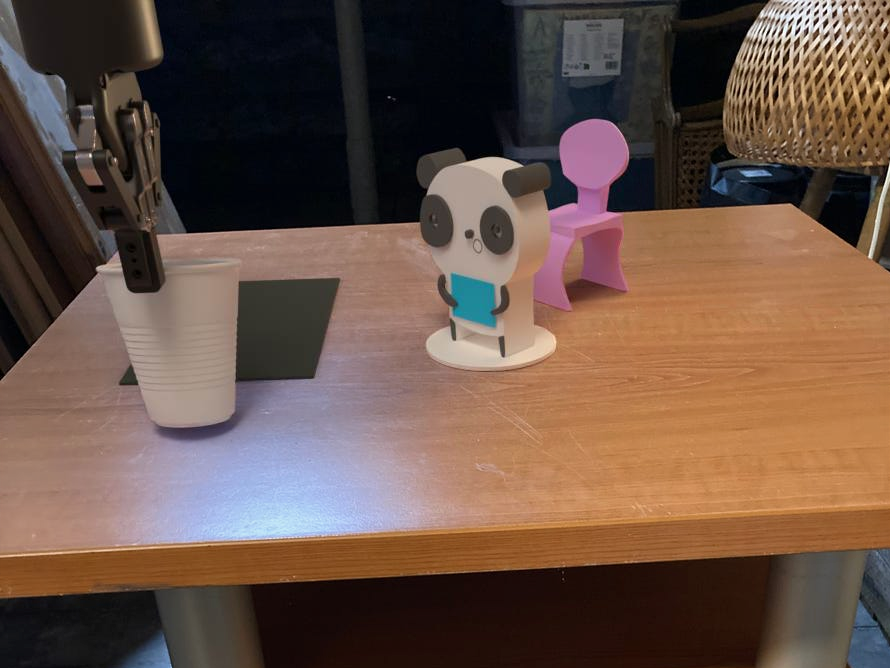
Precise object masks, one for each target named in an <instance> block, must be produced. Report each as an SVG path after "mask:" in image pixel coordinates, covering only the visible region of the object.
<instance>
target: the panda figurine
mask: <svg viewBox="0 0 890 668" xmlns="http://www.w3.org/2000/svg"><path fill="white" fill-rule="evenodd" d="M416 178H417V181H418V183H419V185H420V186H421V187H422V188H423V189H427V191H426V192H427V193H426V195H425V196H424V197H423V198H422V202H421V206H420V211H419V212H420V213H419V227H420V228H419V229H420V234H421V237H422V239H423V241H424V242H425V243H426V244H427V248H428V250H429V252H430V254H431V256H432V258H433V260H434V262H435V264H436V266H437V267H438V268H439V270H440V271H441V273H443V274H440V275H439V277H438V279H437V282H436V283H437V285H436V286H437V290H438V293H439V295H440V297H441V299H442V300H443V302H444V303H445V304H446V305H448V313H449V325H448V326H445V327H443V328H441V329H438V330H436V331H434V332H433V333H432V334H431V335H430V336H429V337H428V338H427V339H426V342H425V351H426V354H427V356H429V357H430V358H431V359H432V360H433V361H435V362H437V363H439V364H441V365H444V366H447V367H450V368H453V369H458V370H466V371H476V372H499V371H510V370H516V369H517V370H518V369H521V368H526V367H530V366H533V365H536V364H538V363H540V362H543V361H545V360H547V359H548V358H549V357H551V356H552V355H553V354H554V353H555V352H556V349H557V338H556V337H555V335H554V333H552V332H551V331H550V330H548V329H546V328H545V327H543V326H539V325H537V324H535V319H534V318H535V316H534V315H535V314H534V309H535V308H534V307H535V306H534V302H535V300H534V274H535V273H536V272H538V271H539V269H540V268H541V267H542V265H543V263H544V261H545V259H546V257H547V253H548V250H549V245H550V220H549V213H548V211H549V209H548V204H547V199H546V196H545V193H544V190H548V189H550V186H551V185H552V175H551V170H550V168H549V166H548V165H547V164H546V163H545V162H542V161H539V162H534V163H530V164H527V165H522V164H521V163H519V162H516V161H514V160H511V159H507V158H504V157H498V156H487V157H481V158H477V159H473V160H469V161H467V159H466V155H465V154H464V153H463V151H462V150H461V149H460V148H459V147H454V148H450V149H445V150H441V151H437V152H433V153H429V154H424V155H423V156H420V158H419V159H418V161H417V165H416Z"/></svg>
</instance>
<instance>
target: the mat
mask: <svg viewBox="0 0 890 668" xmlns="http://www.w3.org/2000/svg"><path fill="white" fill-rule="evenodd" d="M340 280H341V277H327V278H326V277H323V278H321V277H319V278H296V279H295V278H294V279H293V278H291V279H288V278H287V279H263V280H262V279H261V280H239V286H238V317H237V325H236V326H237V332H236V334H237V338H236V343H237V345H236V366H235V368H236V373H235V377H236V379H235V382H237V381H238V382H239V381H241V382H242V381H266V380H267V381H269V380H295V379H296V380H298V379H314V378H315V375H316V371H317V367H318V364H319V361H320V356H321V352H322V349H323V345H324V341H325V337H326V333H327V329H328V326H329V322H330V318H331V314H332V311H333V307H334V304H335V299H336V295H337V293H338V292H337V291H338V288H339V286H340V285H339V284H340ZM130 363H131V362H130ZM118 385H120V386H123V385H124V386H125V385H139V384H138V380H137V379H136V374H135V373H134V369H133V366H132V363H131V364H130V365H129V366H128V368H127V369H126V371H125V373H124V374H123V375H122V377H121V378H120V380H119V382H118Z"/></svg>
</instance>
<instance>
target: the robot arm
mask: <svg viewBox="0 0 890 668" xmlns="http://www.w3.org/2000/svg"><path fill="white" fill-rule="evenodd" d="M10 1H11V6H12V11H13V14H14V18H15V22H16V26H17V29H18V30H17V31H18V33H19V37H20V41H21V45H22V49H23V53H24V56H25V60H26V63H27V65H28V67H29V68H30V69H31V70H32V71H33V72H35V73H37V74H39V75H43V76H49V77H50V76H57V77H59V78H60V79H61V80H62V81H63V84H64V85H65V88H64V91H65V98H66V105H67V106H66V109H67V110H65V122H66V123H65V124H66V127H67V130H68V134H69V138H70V141H71V142H72V144H73V145H74V146H76V149H75V150H74V149H65V150H63V151H62V153H61V164H62V166H63V169H64V171H65V173H66V175H67V176H68V178H69V180H70V182H71V184H72V186H73V188H74V189H75V191H76V192H77V194H78V196H79V197H80V200H81V201H82V203H83V204H84V206H85V208H86V210H87V212H88V213H89V216H90V217H91V219H92V221H93V222H94V224H95V226H96V228H97V229H98V231H108V233H109V234H114V235H113V236H114V240H115V244H116V249H117V252H118V256H119V260H120V263H121V265H122V270H123V274H124V278H125V283H126V287H127V289H128V290H129V291H130V292H132V293H156V292H158V291H159V290H160V289H161V287H162V286H163V285H164V283H165V281H166V278H165V273H164V268H163V263H162V260H163V258H162V255H161V249H160V245H159V244H160V243H159V240H158V236H157V235H158V234H157V230H156V227H155V226H156V225H157V224H158V219H159V213H158V210H157V208H161V207H162V201H163V195H162V194H163V193H162V169H161V168H162V167H161V134H160V129H161V128H160V127H161V122H160V119H159V117H158V115H157V113H156V112H151V108H150V104H149V102H148V101H147V100H143V97H142V92H141V89H140V86H139V82H138V80H137V76H136V72H141V71H147V70H150V69H152V68H155V67H157V66H159V65H160V64H161V63H162V62H163V59H164V48H163V43H162V38H161V32H160V27H159V21H158V16H157V10H156V5H155V0H10Z"/></svg>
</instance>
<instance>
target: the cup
mask: <svg viewBox="0 0 890 668" xmlns="http://www.w3.org/2000/svg"><path fill="white" fill-rule="evenodd" d="M162 263H163V268H164V273H165V278H166V281H165V283H164V285H163V286H162V287H161V289H160V290H159V291H158V292H156V293H132V292H130V291H129V290H128V289H127V287H126V283H125V278H124V274H123V270H122V265H121V262H115V263H108V264H101V265H98V266H97V267H96V268H95V271H96V273H98V274H100V276H101V279H102V282H103V285H104V288H105V290H106V293H107V296H108V300H109V302H110V306H111V309H112V311H113V314H114V317H115V320H116V323H117V325H118V326H119V331H120V333H121V337H122V339H123V342H124V346H125V347H126V353H128V358H129V360H130V363H132V366H133V369H134V373H135V374H136V379H137V380H138V384H137V385H138V387H139V389H140V394H141V397H142V399H143V402H144V406H145V408H146V411H147V414H148V417H149V419H150V420H151V421H153V422H154V423H155V425H157V426H160V427H163V428H164V427H165V428H176V429H177V428H195V427H196V428H197V427H204V426H212V425H217V424H219V423H223V422H226V421H227V420H230V419H231V417H232V415H233V414H235V411H236V389H237V388H236V387H237V386H236V381H235V379H236V377H235V373H236V368H235V366H236V345H237V343H236V338H237V334H236V332H237V326H236V325H237V317H238V286H239V281H240V280H239V278H240V267H241V266H242V265H243V261H242V260H241V259H240V258H231V257H197V258H170V259H162Z"/></svg>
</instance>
